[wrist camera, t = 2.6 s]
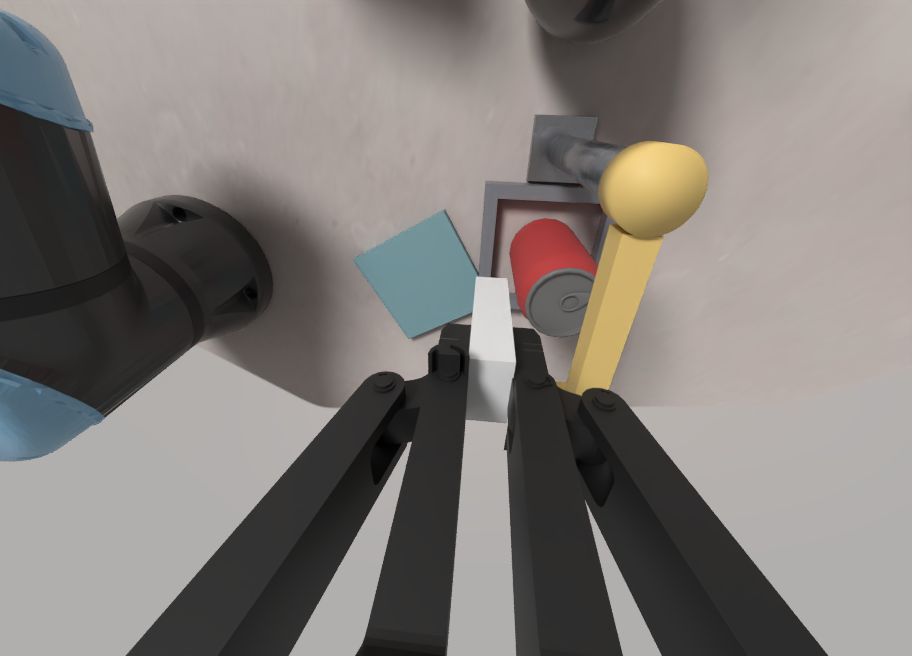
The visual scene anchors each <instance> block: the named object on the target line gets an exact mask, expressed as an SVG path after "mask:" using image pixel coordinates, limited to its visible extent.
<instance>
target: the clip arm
mask: <svg viewBox="0 0 912 656" xmlns="http://www.w3.org/2000/svg"><path fill="white" fill-rule="evenodd" d="M707 186H708V170H707V166H706V164H705V161H704V160H703V158H702V157H701V155H700V154H699V153H698V152H696V151H695V150H694V149H692V148H690V147H688V146H684V145H679V144H672V143H664V142H657V141H643V142H639V143H635V144H633V145H631V146H629V147H627V148H625V149H623V150H622V151H621V152H619V153H618V154H617V155H616V156H615V157H614V158H613V159H612V160H611V161H610V162H609V164H608V165H607V167H606V168H605V170H604V172H603V174H602V176H601V179H600V183H599V188H598V197H599V203H600V205H601V208H602V209H603V211H604V212H605V214H606V215H607V216H608V217H609V218H611V219H612V220H613V221H614V222H616V223H617V224H610V225H609V229H608V233H607V236H606V240H605V244H604V247H603V251H602V255H601V258H600V262H599V266H598V269H597V273H596V277H595V280H594V284H593V288H592V291H591V295H590V299H589V303H588V306H587V310H586V314H585V317H584V321H583V325H582V328H581V332H580V336H579V339H578V343H577V347H576V350H575V354H574V358H573V361H572V365H571V369H570V372H569V376H568V380H567V382H556V384H557V386H558V387H560V388H561V389H563V390H566V391H568V392H571V393H574V394H578V395H581V396H582V393H583V392H584V391H585V390H587V389H590V388H603V389H606V390H608V389H609V386H610V383H611V381H612V378H613V375H614V372H615V370H616V367H617V364H618V361H619V359H620V356H621V353H622V350H623V348H624V345H625V342H626V339H627V337H628V334H629V331H630V328H631V326H632V323H633V320H634V317H635V315H636V312H637V309H638V306H639V304H640V301H641V298H642V295H643V292H644V290H645V287H646V284H647V281H648V279H649V276H650V273H651V270H652V268H653V265H654V262H655V259H656V257H657V254H658V251H659V248H660V246H661V243H662V240H663V236H662V235H664V234H666V233H669V232H671V231H673V230H675V229H677V228H678V227H680V226H681V225H682V224H684V223H685V222H686V221H687V220H688V219H689V218H690V217H691V216H692V215H693V214H694V213H695V212H696V210H697V209H698V208H699V206H700V204H701V203H702V201H703V198H704V196H705V193H706V190H707Z"/></svg>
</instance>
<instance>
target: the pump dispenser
mask: <svg viewBox="0 0 912 656" xmlns="http://www.w3.org/2000/svg"><path fill="white" fill-rule="evenodd" d="M660 1H661V0H525V2H526V4H527V6H528V8H529V10H530V12H531V14H532V15H533V17H534V18H535V19H536V21H537V22H538V23H539V24H540V25H541V26H542V27H543V28H544V29H545V30H546V31H547V32H548V33H550V34H551V35H553V36H554V37H556V38H558V39H560V40H563V41H565V42H569V43H574V44H593V43H598V42H602V41H605V40H608V39H610V38H613V37H615V36H617V35H619V34H621V33H622V32H624V31H626V30H627V29H629V28H630V27H632V26H633V25H635V24H636V23H637V22H639V21H640V20H641V19H642V18H643V17H645V16H646V15H647V14H648V13H649V12H650V11H651V10H652V9H653V8H654V7H655V6H656V5H657V4H658V3H659V2H660Z"/></svg>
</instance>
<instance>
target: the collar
mask: <svg viewBox="0 0 912 656" xmlns="http://www.w3.org/2000/svg"><path fill="white" fill-rule="evenodd" d="M498 199H515V200H535V201H555V202H575V203H595V204H600V203H599V197H598V196H596V195H595V194H594V193H592V192H591V191H589V190H588V189H587V188H585V187H584V186H578V185H557V184H536V183H515V182H494V181H486V183H485V197H484V211H483V224H482V238H481V251H480V265H479V277H491V266H492V256H493V245H494V234H495V224H496V213H497V202H498ZM610 224H617V223H616V222H614V221H613V220H612V219H611V218H609V217H608V216H607V215H606V214H605V212H604V211H603V212H602V216H601V220H600V224H599V228H598V232H597V236H596V240H595V244H594V247H593V251H592V255H591V257H592V258H593V259H594V261H595V262H596V263H597V265H598V266H599V262H600V258H601V255H602V251H603V247H604V244H605V240H606V236H607V233H608V229H609V225H610ZM509 300H510V309H518V310H521V309H520V308H519V306H518V303H517V297H516V293H509Z"/></svg>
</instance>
